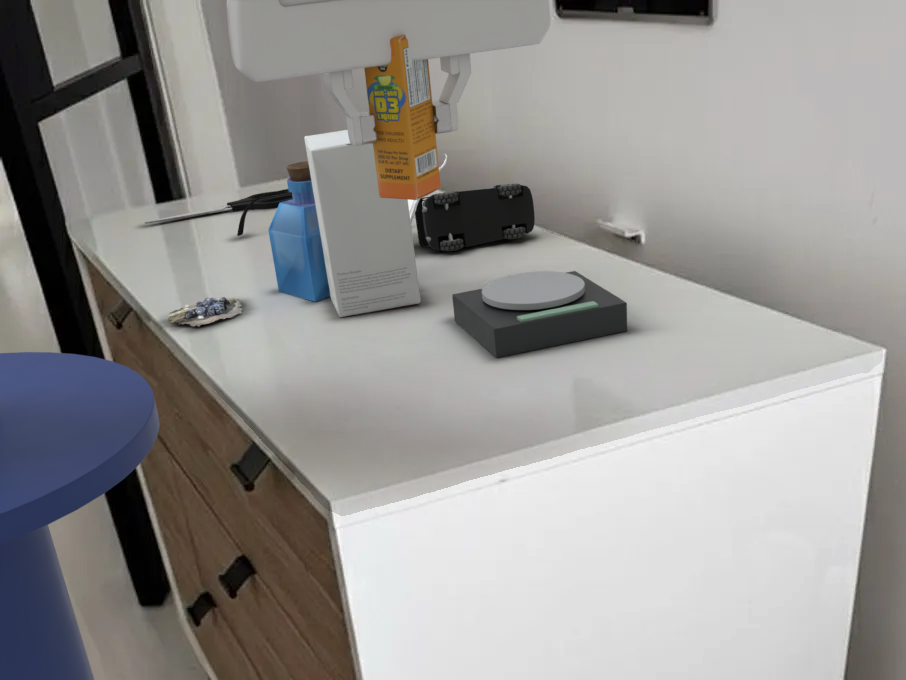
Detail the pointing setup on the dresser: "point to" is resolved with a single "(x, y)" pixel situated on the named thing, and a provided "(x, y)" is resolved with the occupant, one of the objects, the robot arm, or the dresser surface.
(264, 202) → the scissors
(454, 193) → the toy car
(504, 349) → the kitchen scale
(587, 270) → the dresser surface
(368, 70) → the supplement box
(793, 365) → the dresser surface
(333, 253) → the cosmetic box
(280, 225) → the perfume bottle
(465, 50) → the robot arm
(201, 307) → the blueberries
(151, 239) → the dresser surface
